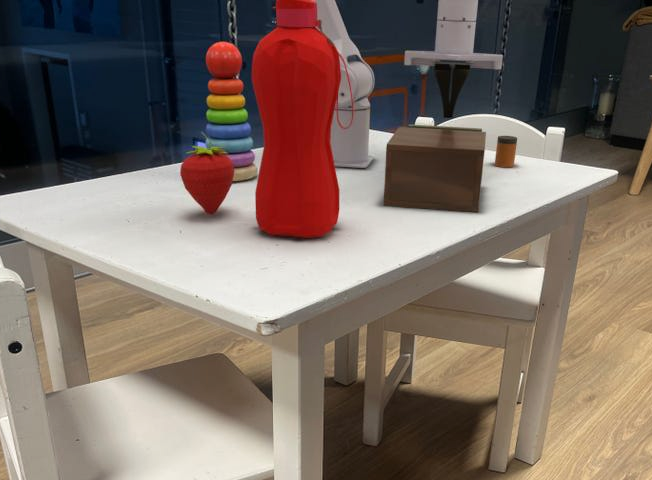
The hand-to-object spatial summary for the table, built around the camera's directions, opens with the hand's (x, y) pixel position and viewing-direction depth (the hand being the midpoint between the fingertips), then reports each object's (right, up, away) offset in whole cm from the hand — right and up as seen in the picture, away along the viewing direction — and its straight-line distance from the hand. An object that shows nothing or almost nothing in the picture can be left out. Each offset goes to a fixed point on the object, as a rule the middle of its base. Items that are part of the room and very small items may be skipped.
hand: (448, 117), depth 112 cm
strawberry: (-33, -20, -21) cm, 44 cm away
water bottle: (-21, -22, -26) cm, 40 cm away
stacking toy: (-33, -10, -3) cm, 35 cm away
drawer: (-1, -9, -1) cm, 9 cm away
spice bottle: (+11, -5, +9) cm, 15 cm away
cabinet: (-3, -15, -10) cm, 18 cm away
